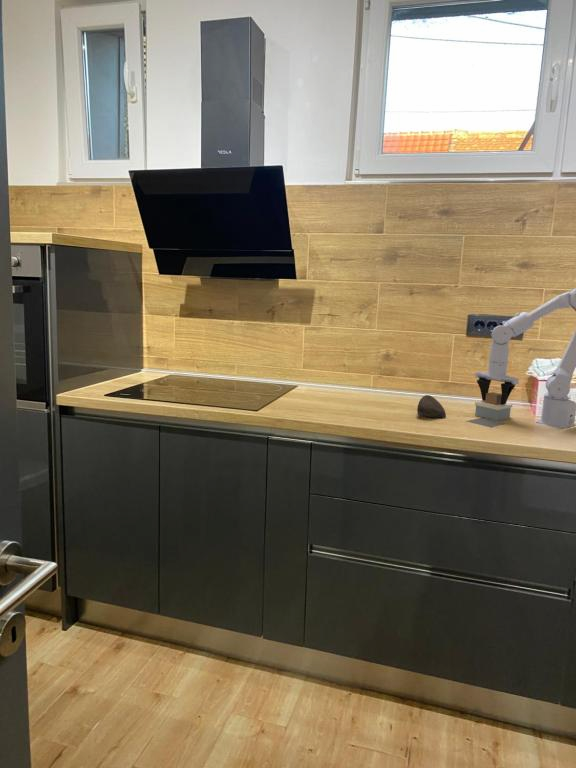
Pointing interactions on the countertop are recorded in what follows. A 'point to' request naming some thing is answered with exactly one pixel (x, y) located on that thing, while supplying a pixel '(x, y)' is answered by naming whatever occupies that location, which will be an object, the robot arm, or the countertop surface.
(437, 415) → the stone
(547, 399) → the robot arm
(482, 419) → the mat
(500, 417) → the box
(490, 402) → the lid
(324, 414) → the countertop surface
